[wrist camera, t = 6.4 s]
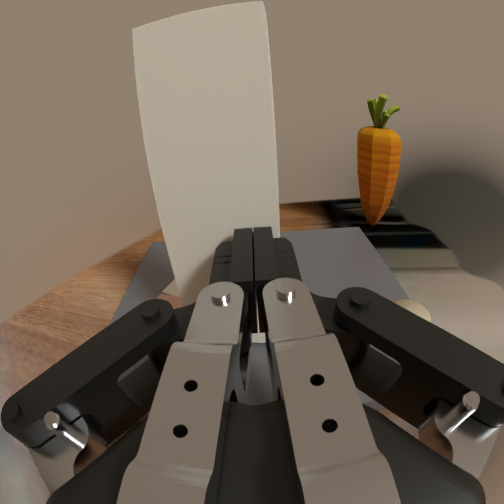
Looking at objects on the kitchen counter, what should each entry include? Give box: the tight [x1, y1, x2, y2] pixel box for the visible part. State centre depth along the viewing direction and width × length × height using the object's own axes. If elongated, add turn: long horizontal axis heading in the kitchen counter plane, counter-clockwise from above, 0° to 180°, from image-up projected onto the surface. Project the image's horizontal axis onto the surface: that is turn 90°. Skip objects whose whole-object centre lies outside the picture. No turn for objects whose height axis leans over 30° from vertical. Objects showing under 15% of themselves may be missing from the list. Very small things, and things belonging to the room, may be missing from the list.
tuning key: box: [132, 1, 431, 343], centre depth 11 cm, size 18×3×16 cm, turn 83°
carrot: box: [357, 94, 401, 226], centre depth 25 cm, size 5×5×15 cm
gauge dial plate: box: [111, 227, 409, 422], centre depth 19 cm, size 21×18×2 cm
